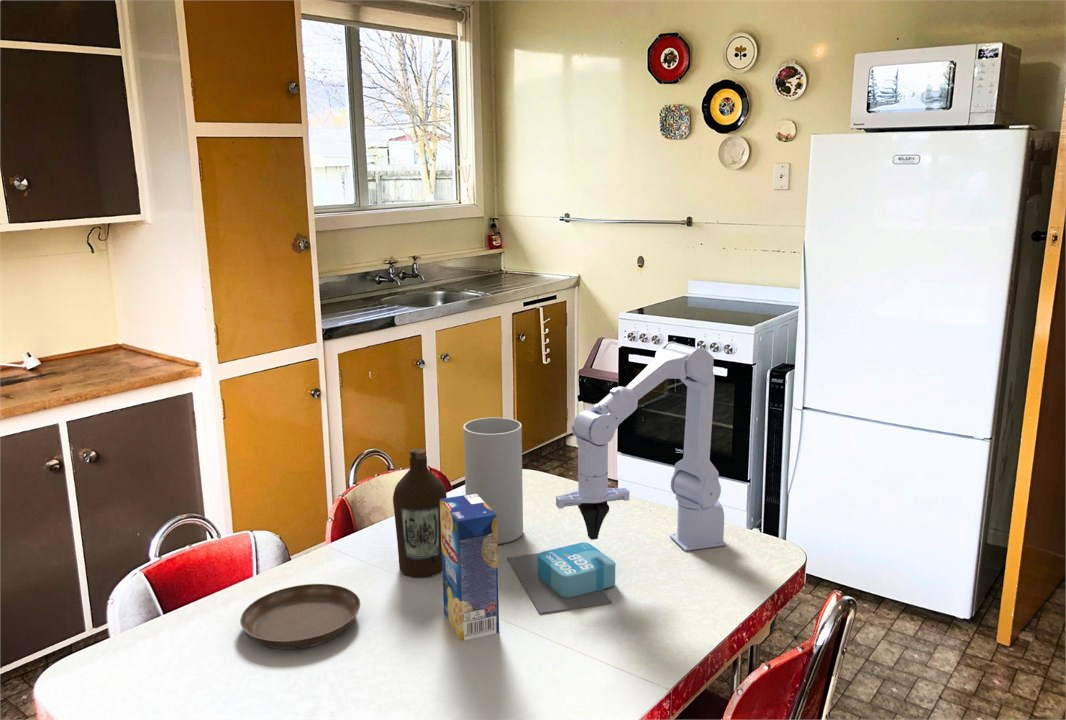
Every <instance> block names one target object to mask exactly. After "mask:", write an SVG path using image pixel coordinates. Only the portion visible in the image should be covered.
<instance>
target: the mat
mask: <svg viewBox="0 0 1066 720" xmlns="http://www.w3.org/2000/svg"><path fill="white" fill-rule="evenodd" d="M539 553H540V552H538V553H531V554H530V553H528V554H522V555H516V556H508V557H506V558H507V561H508V563H509V564H510V567H511V568H512V569H513V571H514V572H515V574H516V576H517V578H518V580H519V582H520V584H521V585H522V587H523V588H524V590H525V592H526V594H527V595H528V597H529V599H530V601H531V602H532V605H533V606H534V607H535V609H536V611H537V612H538V614H539V615H545V614H552V613H559V612H565V611H570V610H572V611H573V610H576V609H577V610H578V609H579V610H580V609H583V608H590V607H597V606H604V605H609V604H610V605H611V604H613V600H611V599H610V597H609V596H608V594H607V593H606V592H605V591H604V589H602V590H598V591H594V592H590V593H587V594H583V595H579V596H576V597H572V598H564V597H562V596H560V595H559V594H558V593H557V592H556V591H554V590H553V589H552V588H551V587H550V586H549V585H548V584H546V583H545V582H544V581H543V580H542V579H541V578H539V577H538V554H539Z"/></svg>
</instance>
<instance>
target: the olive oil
mask: <svg viewBox="0 0 1066 720" xmlns="http://www.w3.org/2000/svg"><path fill="white" fill-rule="evenodd" d="M409 455H410V456H409V470H408V471H407V472H406V473H405V474H404V475H403V477H402V478H400V480H399V481H398V482H397V484H396V485H395V487H394V491H393V494H392V495H393V496H392V504H393V512H394V521H395V522H394V523H395V531H396V532H395V534H396V543H397V544H396V545H397V553H398V566H399V571H400V573H401V574H402V575H404V576H406V577H409V578H415V579H425V578H430V577H431V578H432V577H434V576H437V575H439V574H440V573H442V548H441V521H440V499H443V498H448V497H447V492H446V488H445V485H444V483H443V482H442V480H441V479H440V478H439V477H437V475H435V473H433V472H432V471H431V470H430V469H429V468H428V459H427V450H426V449H424V448H421V447H420V448H413V449H411V450H409Z"/></svg>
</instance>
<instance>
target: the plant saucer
mask: <svg viewBox="0 0 1066 720" xmlns="http://www.w3.org/2000/svg"><path fill="white" fill-rule="evenodd" d="M360 608H361V600H360V597H359V595H357V594H356V593H355V592H353V590H352V589H349V588H347V587H343V586H340V585H336V584H328V583H309V584H306V583H305V584H298V585H293V586H289V587H285V588H281V589H278V590H275V591H271V592H270V593H267V594H266V595H265V594H264V595H263V596H262V597H259V598H258V599H257V598H256V599H255V600H254V601H253V602H252V603H250V604H249V605H248V606H247V607H246V608H245V609H244V611H243V612H242V614H241V615H240V621H239V622H240V626H241V629H242V630H243V631H244V632H245V634H247V636H249V637H250V638H251V639H252V640H254V641H255V642H257V643H258V644H260V645H263V646H265V647H269V648H273V649H279V650H298V649H299V650H300V649H305V648H310V647H315V646H318V645H320V644H324V643H325V642H328V641H330V640H333V639H334V638H336V637H338V636H339V635H340V634H342V633H343V632H344V631H345V630H346V629H347V628H348V627H349V626H350V625H351V624H352V623H353V622H354V620H355V618H356V616H357V615H358V614H359V610H360Z"/></svg>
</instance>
